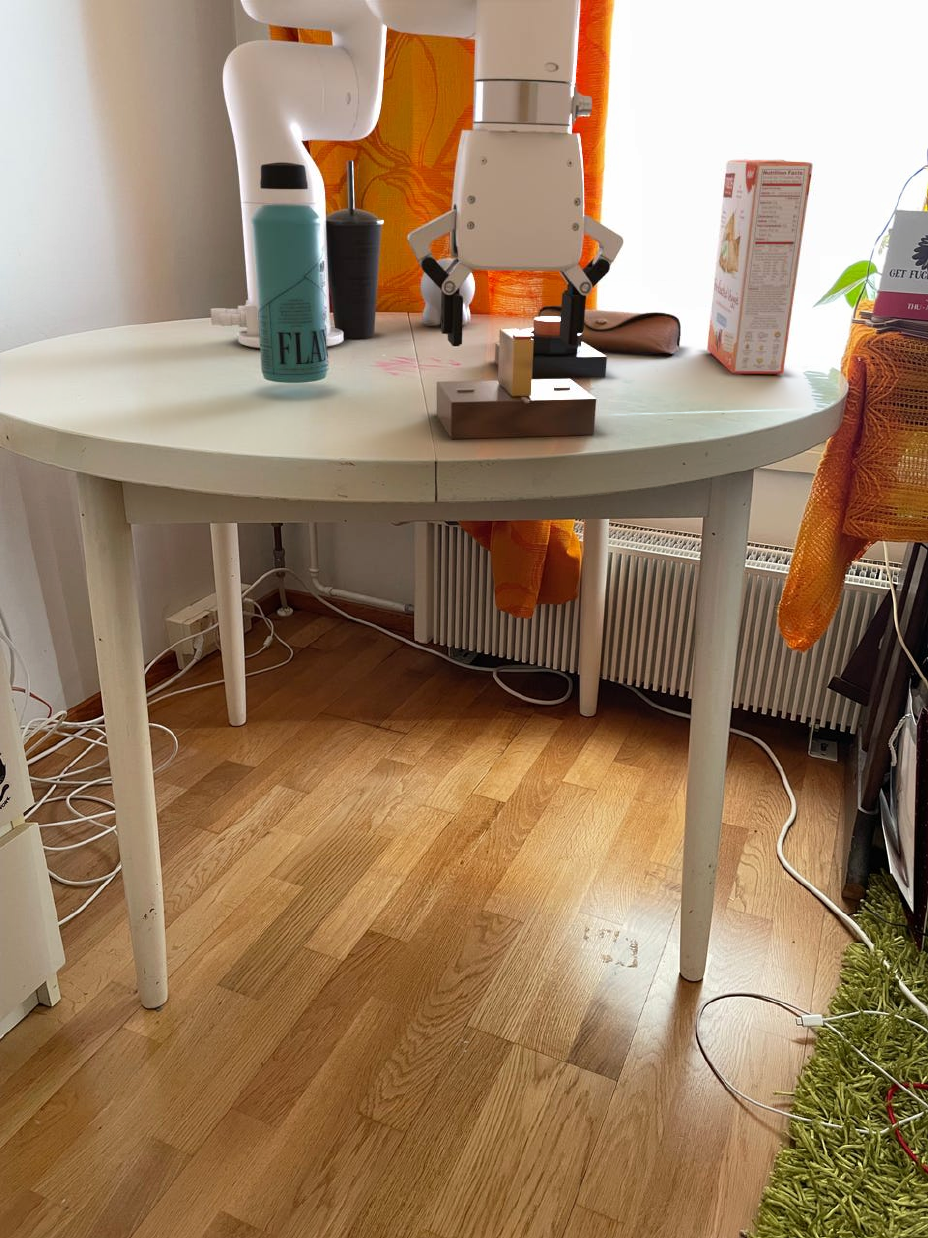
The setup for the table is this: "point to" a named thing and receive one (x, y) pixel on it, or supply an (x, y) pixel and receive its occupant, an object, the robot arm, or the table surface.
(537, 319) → the bell button
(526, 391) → the tan cardboard box
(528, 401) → the brown wooden base
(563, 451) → the table surface
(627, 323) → the sunglasses case
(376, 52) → the robot arm
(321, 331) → the beverage bottle
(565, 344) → the block
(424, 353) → the table surface
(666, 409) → the table surface
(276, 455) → the table surface
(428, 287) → the round bodied animal figurine
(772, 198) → the cracker box
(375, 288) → the drinking cup
